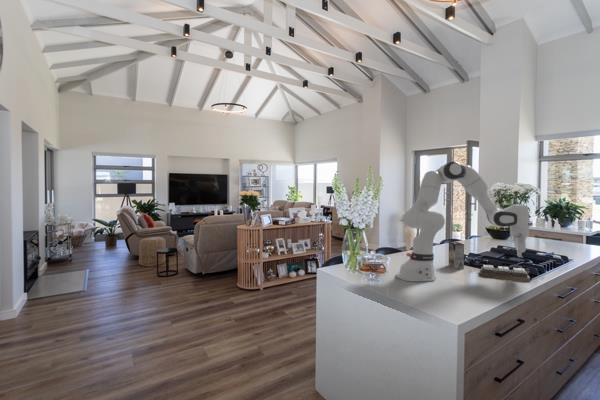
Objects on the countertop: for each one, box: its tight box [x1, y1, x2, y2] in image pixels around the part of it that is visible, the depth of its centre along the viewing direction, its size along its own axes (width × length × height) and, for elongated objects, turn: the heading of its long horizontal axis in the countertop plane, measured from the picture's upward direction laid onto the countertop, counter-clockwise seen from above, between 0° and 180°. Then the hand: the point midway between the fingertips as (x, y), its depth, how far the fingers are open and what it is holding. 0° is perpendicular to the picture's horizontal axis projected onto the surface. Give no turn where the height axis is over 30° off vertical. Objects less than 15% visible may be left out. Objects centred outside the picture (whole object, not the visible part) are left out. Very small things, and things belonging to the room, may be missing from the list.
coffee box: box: [448, 241, 465, 269], centre depth 202 cm, size 9×6×16 cm
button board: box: [479, 266, 531, 283], centre depth 178 cm, size 10×24×4 cm, turn 59°
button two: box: [512, 267, 526, 273], centre depth 174 cm, size 5×5×2 cm
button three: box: [482, 264, 495, 270], centre depth 182 cm, size 5×5×2 cm
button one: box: [497, 265, 509, 272], centre depth 178 cm, size 5×5×2 cm
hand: (519, 256), depth 174 cm, fingers closed
